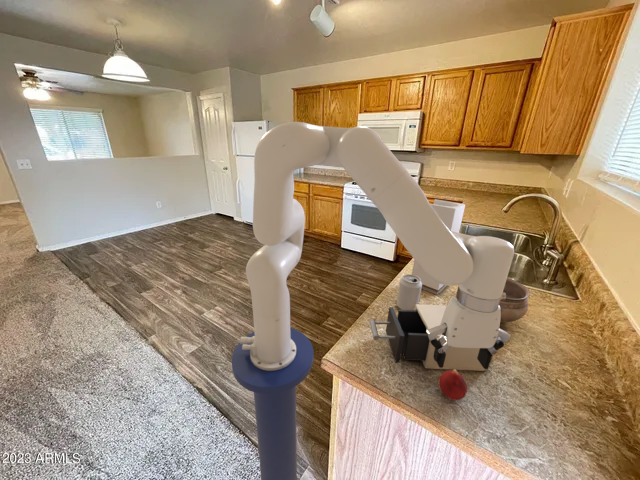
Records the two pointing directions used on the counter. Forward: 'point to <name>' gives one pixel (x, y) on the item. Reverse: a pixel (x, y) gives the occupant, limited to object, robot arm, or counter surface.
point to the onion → (452, 385)
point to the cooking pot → (514, 301)
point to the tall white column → (452, 220)
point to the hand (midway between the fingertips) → (460, 363)
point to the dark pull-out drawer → (404, 334)
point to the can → (409, 292)
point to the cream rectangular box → (454, 355)
